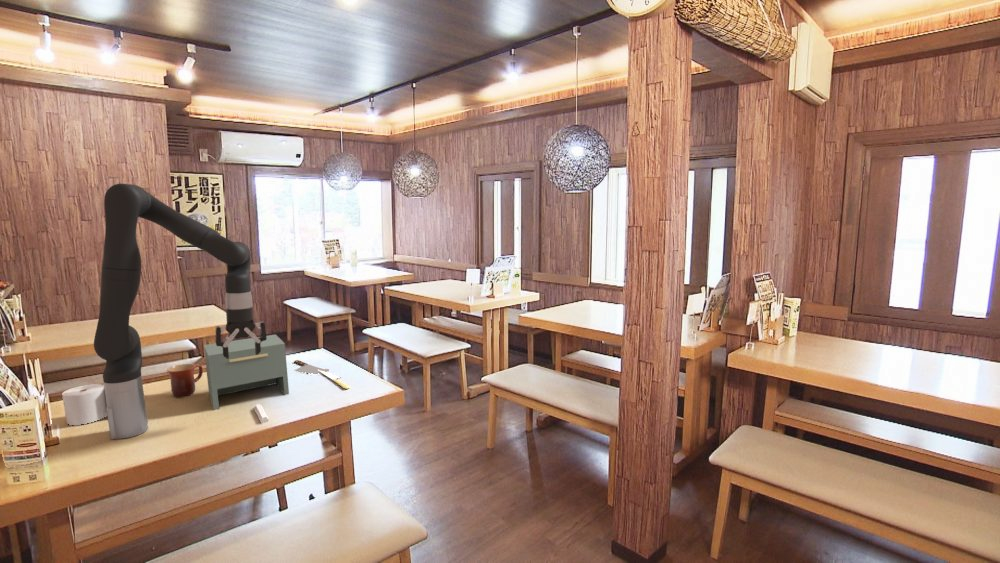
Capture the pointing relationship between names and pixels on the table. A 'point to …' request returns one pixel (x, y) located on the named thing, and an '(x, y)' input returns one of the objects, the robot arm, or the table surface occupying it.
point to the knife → (334, 379)
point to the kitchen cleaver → (308, 368)
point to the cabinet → (245, 367)
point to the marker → (261, 413)
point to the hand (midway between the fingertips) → (242, 356)
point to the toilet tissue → (85, 404)
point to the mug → (183, 379)
